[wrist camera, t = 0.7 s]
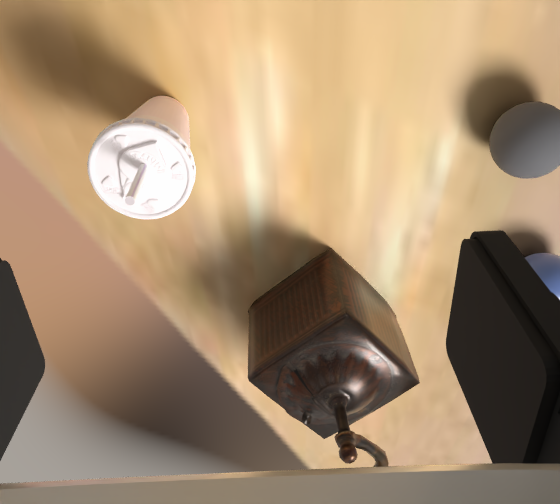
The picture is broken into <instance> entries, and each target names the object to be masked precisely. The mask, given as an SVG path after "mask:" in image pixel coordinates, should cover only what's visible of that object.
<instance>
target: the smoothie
mask: <svg viewBox="0 0 560 504" xmlns="http://www.w3.org/2000/svg"><path fill="white" fill-rule="evenodd" d="M88 174H89V178H90V181H91V184H92V186H93V188H94V190H95V191H96V193H97V194H98V196H99V197H100V198H101V199H102V200H103V201H104V202H105V203H106V204H107V205H108V206H110V207H111V208H112V209H114V210H116V211H117V212H119V213H121V214H124V215H126V216H129V217H133V218H138V219H156V218H161V217H164V216H167V215H169V214H171V213H173V212H175V211H176V210H178V209H179V208H180V207H181V206H182V205H183V204H184V203H185V202H186V200H187V199H188V197H189V195H190V193H191V190H192V188H193V185H194V182H195V174H196V167H195V162H194V158H193V155H192V153H191V151H190V131H189V117H188V113H187V111H186V109H185V108H184V106H183V105H182V104H181V103H180V102H179V101H177V100H176V99H174V98H171V97H168V96H155V97H153V98H150V99H149V100H147V101H146V102H145V103H144V104H143V105H141V106H140V107H139V108H138V109H136V110H135V111H134V112H133V113H132V114H130V115H129V116H128V117H127V118H125V119H122V120H120V121H117V122H115V123H113V124H110V125H109V126H108V127H107V128H105V129H104V130H103V131H102V132H101V133H100V134H99V135H98V137H97V138H96V140H95V142H94V143H93V146H92V148H91V150H90V153H89V157H88Z"/></svg>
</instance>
